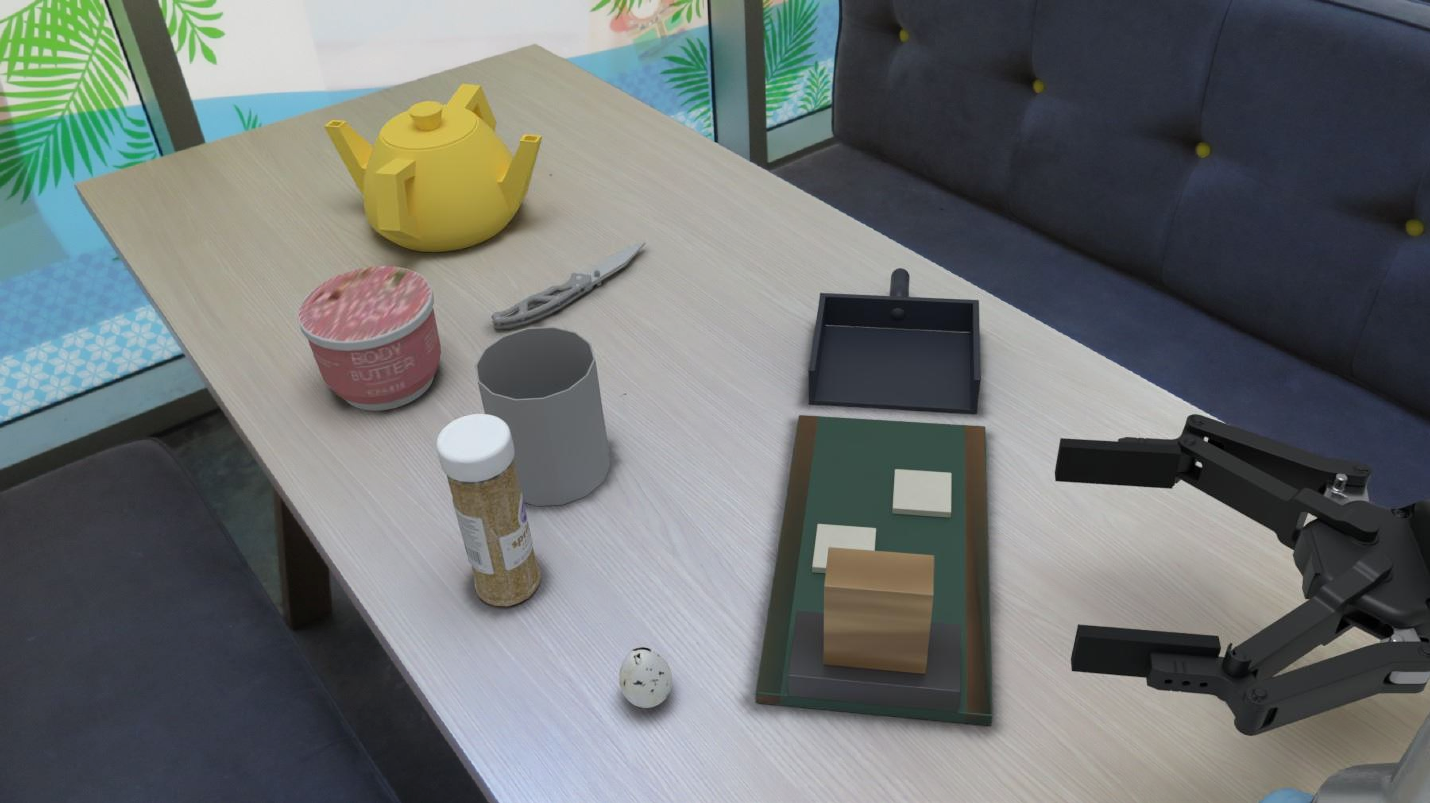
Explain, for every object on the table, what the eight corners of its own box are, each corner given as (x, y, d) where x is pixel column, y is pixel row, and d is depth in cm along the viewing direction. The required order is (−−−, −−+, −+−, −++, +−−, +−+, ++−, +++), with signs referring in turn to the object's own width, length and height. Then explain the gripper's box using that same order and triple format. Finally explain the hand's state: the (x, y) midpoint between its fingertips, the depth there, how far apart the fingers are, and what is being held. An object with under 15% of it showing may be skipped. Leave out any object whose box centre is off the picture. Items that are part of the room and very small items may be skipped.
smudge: (950, 518, 82) (951, 512, 82) (892, 513, 83) (892, 507, 82) (951, 478, 85) (951, 472, 85) (894, 474, 86) (894, 468, 86)
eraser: (958, 712, 70) (970, 612, 64) (788, 696, 72) (786, 596, 66) (958, 645, 74) (970, 544, 68) (796, 631, 75) (795, 531, 70)
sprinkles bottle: (548, 597, 80) (517, 447, 71) (481, 617, 79) (441, 468, 70) (533, 550, 83) (501, 402, 75) (468, 569, 82) (429, 421, 74)
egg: (684, 689, 74) (678, 637, 70) (657, 728, 72) (649, 676, 68) (640, 670, 75) (632, 618, 72) (612, 708, 73) (603, 656, 70)
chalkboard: (991, 726, 70) (992, 716, 70) (755, 703, 73) (755, 693, 72) (984, 435, 90) (985, 425, 89) (798, 424, 92) (798, 414, 92)
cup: (521, 425, 94) (499, 322, 87) (622, 435, 92) (607, 331, 86) (483, 500, 88) (458, 394, 81) (591, 512, 86) (573, 405, 80)
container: (471, 350, 102) (453, 272, 97) (417, 430, 94) (394, 349, 89) (361, 336, 104) (338, 259, 99) (299, 413, 96) (271, 333, 91)
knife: (635, 244, 113) (657, 255, 112) (489, 328, 104) (510, 341, 102) (634, 230, 112) (656, 241, 111) (485, 313, 103) (507, 326, 101)
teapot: (498, 160, 128) (478, 54, 120) (562, 228, 116) (544, 115, 109) (345, 207, 122) (313, 98, 114) (396, 283, 110) (365, 168, 103)
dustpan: (976, 414, 92) (980, 379, 90) (808, 404, 94) (808, 370, 92) (974, 293, 104) (978, 260, 102) (825, 287, 106) (826, 254, 104)
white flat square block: (872, 577, 78) (873, 571, 78) (812, 572, 79) (812, 566, 79) (875, 533, 82) (876, 527, 81) (817, 529, 82) (817, 523, 82)
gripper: (1562, 843, 53) (1072, 792, 57) (1406, 463, 72) (1044, 442, 76) (1635, 746, 49) (1095, 697, 52) (1447, 366, 67) (1059, 348, 71)
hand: (1064, 546), depth 64 cm, fingers open, 13 cm apart
